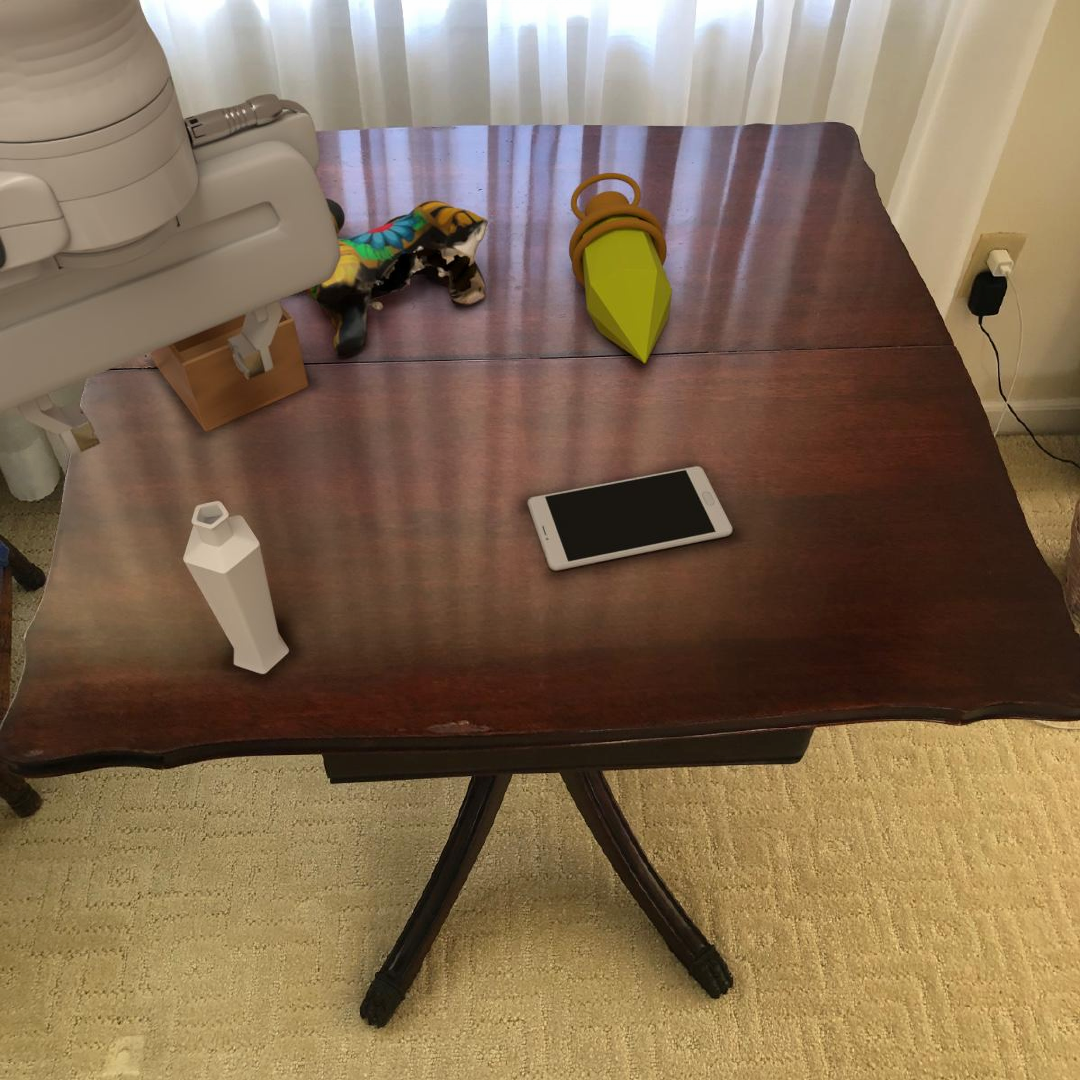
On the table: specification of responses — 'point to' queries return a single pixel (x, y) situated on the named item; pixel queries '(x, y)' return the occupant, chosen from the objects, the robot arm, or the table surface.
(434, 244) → the multicolored animal figure
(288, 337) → the carton
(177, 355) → the carton flap
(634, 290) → the plumb bob
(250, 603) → the perfume bottle
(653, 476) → the smartphone
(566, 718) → the table surface
